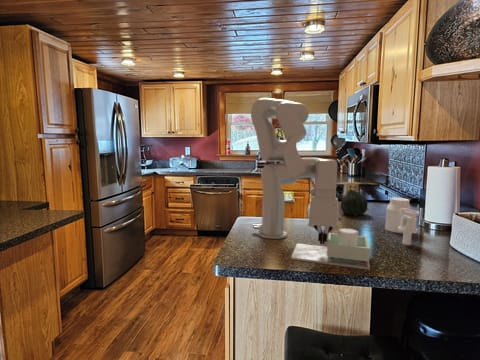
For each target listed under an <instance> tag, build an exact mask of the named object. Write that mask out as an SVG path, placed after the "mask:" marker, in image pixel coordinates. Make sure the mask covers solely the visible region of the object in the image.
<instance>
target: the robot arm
mask: <svg viewBox="0 0 480 360" xmlns="http://www.w3.org/2000/svg"><path fill="white" fill-rule="evenodd" d="M250 110H251V111H250V118H251V122H252V125H253V127H254V131H255V134H256V138H257V144H258V149H259V155H260V157H261V159H262V161H264V162H271V163H270V164H266V165H264V167H263V168H262V169H261V172H260V180H261V184H262V208H261V209H262V213H261V216H262V217H261V223H260V224H258V223H253V224H252V228H253V230H258V232H257V235H258V236H259V237H261V238H264V239H267V240H269V239H270V240H281V239H284V238H286V237H288V232H287V231H286V230H284V229H285V227H284V224H285V223H284V222H285V221H284V220H285V203H286V202H285V198H286V197H285V193H284V191H283V188H282V186H289V185H293V184H296V183H297V182H298V181H299V179H307V178H311V179H313V178H314V187H313V189H310V190H309V193H310V194H311V195H313V196H311V199H310V204H309V214H308V224H307V225H308V227H310V228H314V229H315V231H316V232H317V233H318V236H317V237H318V239H317V242H319V244H320V245H325V243H328V234H329V233H330V232H331V231H332V230H339V229H340V228H339V215H340V213H339V210H340V209H339V200H338V197H336V196H337V195H336V194H337V180H338V179H337V177H338V162H337V161H336V160H335V159H331V158H320V157H301V155H300V153H299V150H298V147H297V144H298V143H299V142H301V141H302V140H304V139H305V138H306V136H307V135H308V133H307V130H306V127H305V125H304V124H305V123H306V122H307V121H308V119H309V115H310V114H309V113H310V112H309V109H308V107H307V105H306V104H304V103H301V102H295V101H292V100H286V99H280V98H279V99H278V98H272V97H271V98H269V97H262V98H258V99H256V100H255V101H254V102H253V104H252V106H251V109H250ZM269 119H270V120H273V119H274V120H277V121H278V124H279V126H280V129H281V131H282V134H283V135H284V138H285V139H283V140H282V139H279V138H278V137H277V132H276V129H275V127H274V125H273V124H272V122H271V121H270V120H269ZM272 162H274V163H272ZM275 162H279V163H275ZM322 227H325V228H324V229H323V230H322Z"/></svg>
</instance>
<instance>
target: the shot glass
mask: <svg viewBox="0 0 480 360" xmlns="http://www.w3.org/2000/svg"><path fill="white" fill-rule="evenodd" d="M337 230H338V231H337V232H338V233H337V234H338V235H339V244H340V245H349V246H356V245H357V239H358V236H359V230H356V229H354V228H347V227H343V228H342V227H341V228H338V229H337Z"/></svg>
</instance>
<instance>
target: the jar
mask: <svg viewBox="0 0 480 360" xmlns="http://www.w3.org/2000/svg"><path fill="white" fill-rule="evenodd" d="M389 200H390V201H389V203H388V205H387V207H386V211H385V212H386V216H385V226H384V229H385V231H389V232H390V233H391V232H392V233H397V234H403V232H401V231H399V230H398V227H399V226H401V218H402V217H400V210H401V208H408V209H409V210H413V209H412V207H411V206H410V200H411V199H408V198H405V197H390V199H389ZM408 213H410V212H408Z"/></svg>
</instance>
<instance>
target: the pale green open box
mask: <svg viewBox="0 0 480 360" xmlns="http://www.w3.org/2000/svg"><path fill="white" fill-rule="evenodd" d="M326 244H327V245H326V247H327V256H328V257H330V258H331V259H334V257H336V258H344V259H352V260H360V261H361V262H362V263H365V261H368V262H369V263H370V258H371V257H370V255H371V247H370V243H369V240H368V236H364V235H358V239H357V245H356V246H349V245H340V244H339V235H338V233H332V232H328V234H327V243H326Z"/></svg>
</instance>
